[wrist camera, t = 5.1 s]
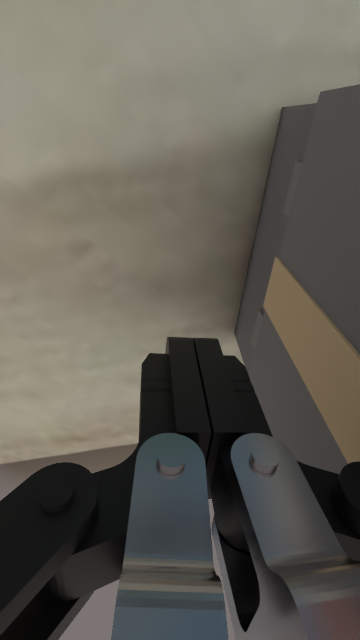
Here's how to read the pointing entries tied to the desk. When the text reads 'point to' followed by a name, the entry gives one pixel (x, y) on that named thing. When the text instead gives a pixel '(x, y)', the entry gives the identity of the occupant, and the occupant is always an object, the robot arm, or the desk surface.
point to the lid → (317, 299)
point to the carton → (272, 221)
